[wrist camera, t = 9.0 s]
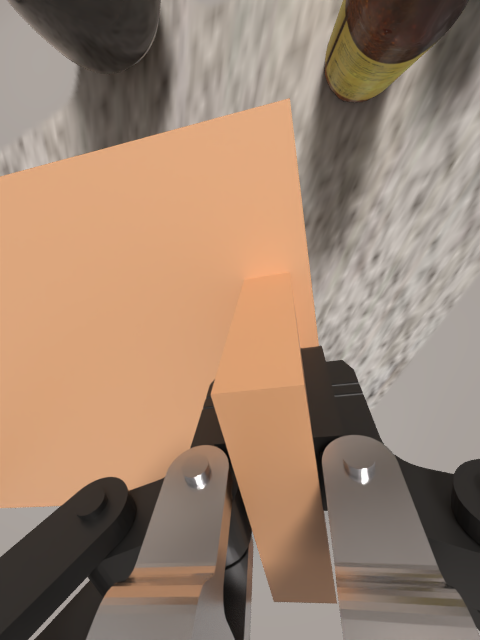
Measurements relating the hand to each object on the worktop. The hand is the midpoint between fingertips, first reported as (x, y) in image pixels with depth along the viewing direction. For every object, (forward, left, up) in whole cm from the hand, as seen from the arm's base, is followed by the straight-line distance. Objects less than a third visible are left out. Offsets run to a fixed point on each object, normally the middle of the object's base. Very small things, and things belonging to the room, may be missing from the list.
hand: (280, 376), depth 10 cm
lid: (-9, 0, -2) cm, 9 cm away
